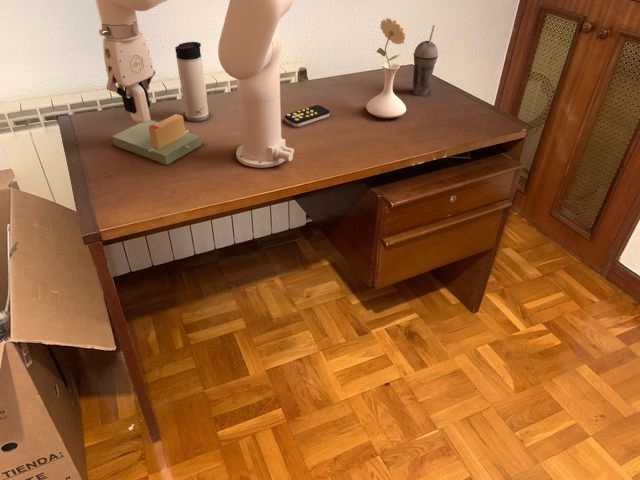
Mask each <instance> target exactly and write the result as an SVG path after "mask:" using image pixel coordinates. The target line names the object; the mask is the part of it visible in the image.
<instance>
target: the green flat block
mask: <svg viewBox="0 0 640 480" xmlns="http://www.w3.org/2000/svg"><path fill="white" fill-rule="evenodd" d="M156 123H158V121H156V120H152V119H150V121H147V122H144V123H141V122H138V123H137V124H135V125H133V126H131V127H128V128H127V129H124V130H122V131H120V132H118V133H116V134H114V135H111V138H112V142H113V144H114V146H115V147H118V148H119V149H123V150H126V151H129V152H131V153H134V154H137V155H139V156H142V157H145V158H147V159H150V160H152V161H155V162H158V163H160V164H164V165H166V166H168V165H170V164H171V163H173V162H174V161H177V160H179V159H180V158H182V157H183V156H185V155H187V154H189V153H191V152H192V151H194V150H195V149H198V148H199V147H201V146H202V137H201V135H197V134H195V133H192V132H190V129H187V130H185V133H186V135H184V136H183V137H181V138H179V139H177V140H175V141H173V142H171V143H169V144H167V145H166V146H164V147H162V148H160V149H158V148H155V147H153V146H152V142H151V137H150V132H149V126H151V125H154V124H156Z"/></svg>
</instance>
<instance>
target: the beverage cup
mask: <svg viewBox="0 0 640 480" xmlns="http://www.w3.org/2000/svg"><path fill="white" fill-rule="evenodd" d="M435 28H436V27H435V25H434V24H433V25H432V28H431V32H430V35H429V40H424V41H421V42H419V43H418V44H417V46H416V47H415V49H414V52H413V76H412V77H413V78H412V79H413V80H412V82H413V83H412V94H413V95H416V96H427V95H428V91H429V90H430V89H429V88H430V85H431V82H432V76H433V73H434V69H435V65H436V63H437V60H438V57H439V55H438V53H439V52H438V47H437V45H436V44H435V43H434V42H432V38H433V34H434V31H435Z"/></svg>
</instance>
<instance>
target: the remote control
mask: <svg viewBox="0 0 640 480" xmlns="http://www.w3.org/2000/svg"><path fill="white" fill-rule="evenodd" d="M330 115H331V111H330V110H329V108H326V107H324V106H322V105H319V104H315V105H312V106H309V107H306V108H302V109H298V110H295V111H291V112H289V113H287V114H285V115H284V121H285V122H286V123H287V124H289V125H291V126H292V127H295V128H300V127H304V126H306V125H309V124H312V123H315V122H318V121H321V120H324V119H327V118H329V117H330Z"/></svg>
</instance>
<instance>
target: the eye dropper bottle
mask: <svg viewBox="0 0 640 480" xmlns="http://www.w3.org/2000/svg"><path fill="white" fill-rule="evenodd" d="M130 92H131V97H133V98H134V102H135V107H136V111H137V112H136V113H131V112H129V113H130V117H131V119H132V120H133V121H135V122H137V123H144V122H147V121H150V120H151V114H150V110H149V107H148V105H147V100H146V96H145V92H144V90H143V88H142V87H141V86H140V85H139V83H136V84H133V85H131V86H130Z"/></svg>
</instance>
